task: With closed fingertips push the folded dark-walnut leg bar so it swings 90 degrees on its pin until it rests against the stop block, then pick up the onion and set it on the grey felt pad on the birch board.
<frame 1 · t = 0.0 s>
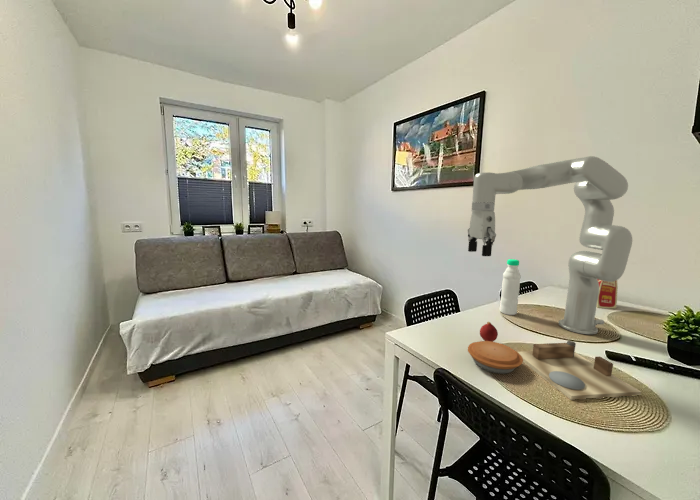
hand: (479, 253, 107), 31 cm above the table, tool pointing down, fingers open, 9 cm apart
leg: (554, 349, 92), point 4 cm above the table, hinge at 0.0°
board: (570, 373, 85), on the table
white milk bottle: (507, 312, 133), on the table
stop block: (601, 375, 84), resting on board
onion: (487, 343, 104), on the table
felt pad: (565, 384, 80), resting on board
milk carton: (601, 305, 144), on the table
pie: (493, 364, 90), on the table
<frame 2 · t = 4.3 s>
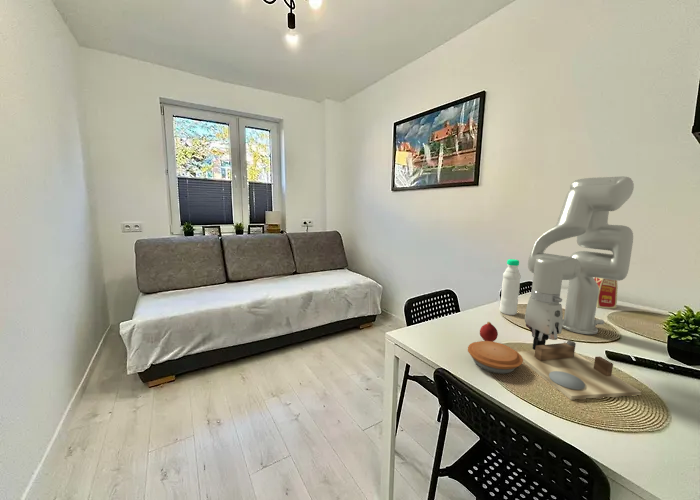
hand: (538, 349, 94), 2 cm above the table, tool pointing down, fingers closed
leg: (556, 350, 91), point 4 cm above the table, hinge at 4.9°, touching gripper
everything else where it was.
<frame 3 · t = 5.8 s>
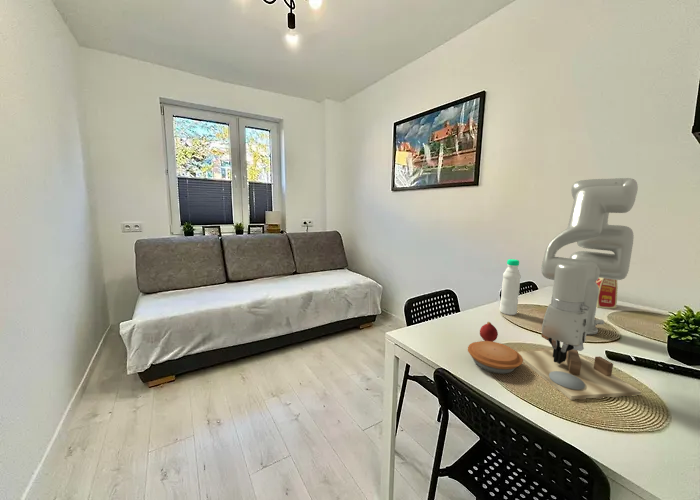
hand: (558, 361, 88), 2 cm above the table, tool pointing down, fingers closed
leg: (572, 356, 88), point 4 cm above the table, hinge at 52.7°, touching gripper
everything else where it was.
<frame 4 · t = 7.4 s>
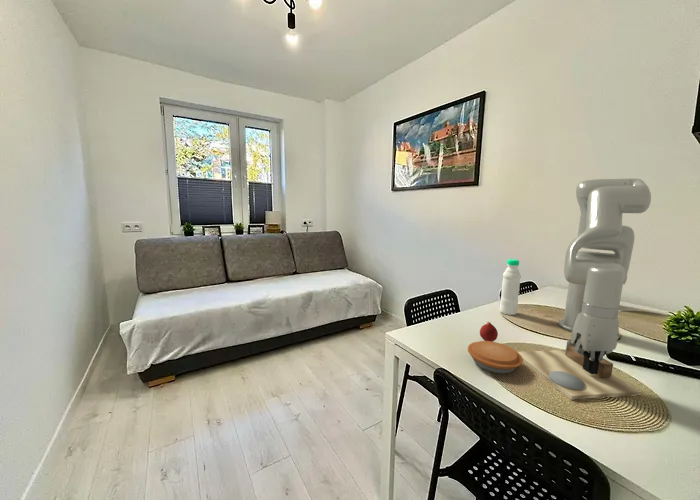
hand: (589, 371, 82), 2 cm above the table, tool pointing down, fingers closed
leg: (586, 357, 87), point 4 cm above the table, hinge at 91.1°, touching gripper, stop block
everything else where it was.
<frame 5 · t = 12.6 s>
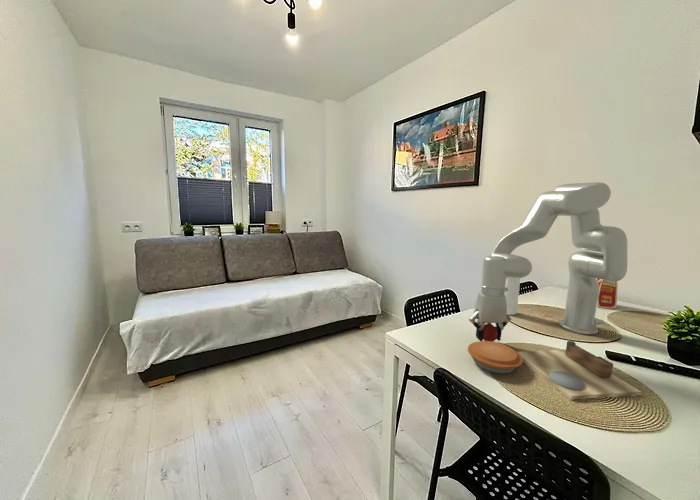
hand: (488, 338, 104), 2 cm above the table, tool pointing down, fingers closed on onion, 5 cm apart
leg: (586, 357, 87), point 4 cm above the table, hinge at 91.0°, touching stop block
onion: (487, 343, 104), on the table, touching gripper
everything else where it was.
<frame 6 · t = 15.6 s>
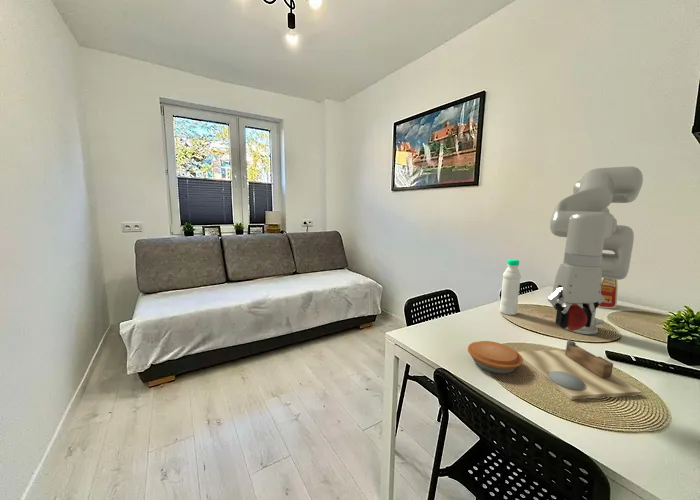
hand: (572, 324, 78), 17 cm above the table, tool pointing down, fingers closed on onion, 5 cm apart
onion: (571, 331, 78), point 16 cm above the table, touching gripper
everything else where it was.
when the fingers open (5 cm above the table, at t = 18.5 s): onion drops 2 cm, resting on felt pad.
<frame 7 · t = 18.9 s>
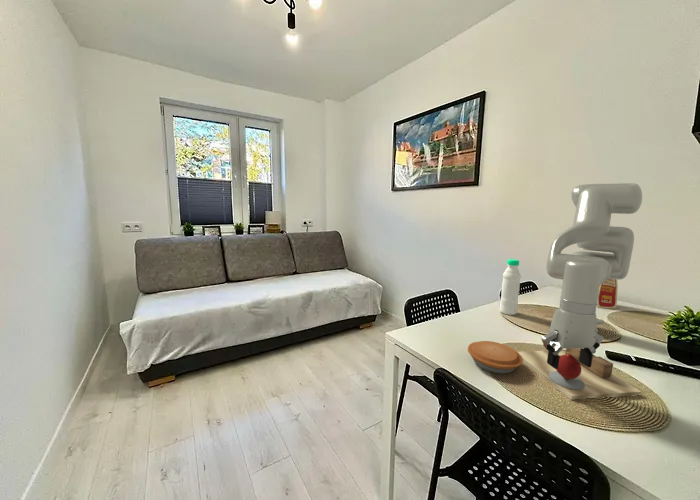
hand: (568, 365, 79), 6 cm above the table, tool pointing down, fingers open, 9 cm apart
onion: (566, 379, 80), point 1 cm above the table, touching felt pad
everything else where it was.
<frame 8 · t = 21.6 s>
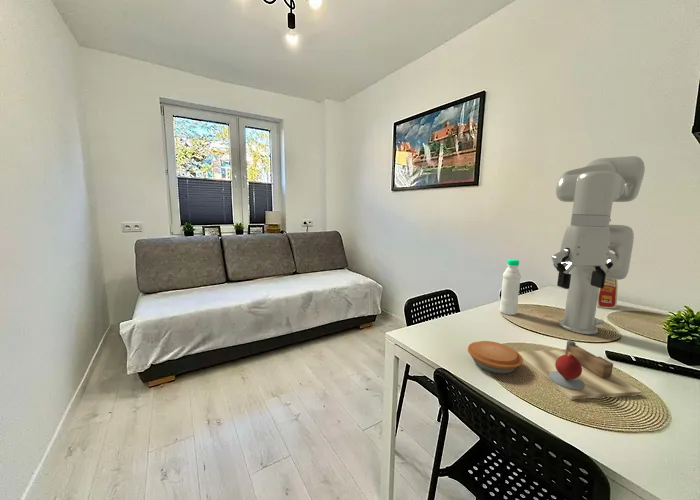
hand: (580, 287, 75), 28 cm above the table, tool pointing down, fingers open, 9 cm apart
nothing on the table moved.
at the end: leg at +91° (first picture: +0°); onion 0.2 cm from the felt pad (horizontally); the gripper is holding nothing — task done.
